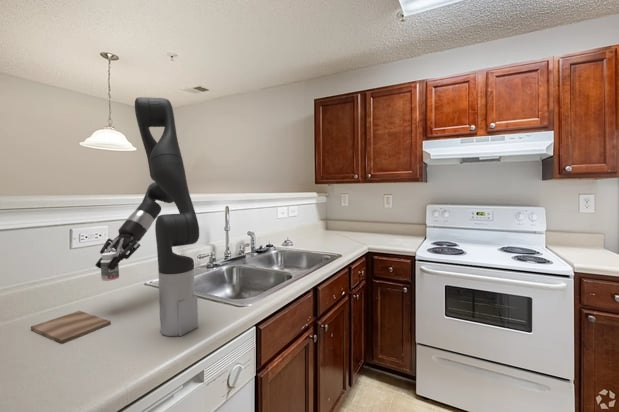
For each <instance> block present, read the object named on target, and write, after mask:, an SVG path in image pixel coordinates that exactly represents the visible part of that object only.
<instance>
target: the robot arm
mask: <svg viewBox="0 0 619 412" xmlns="http://www.w3.org/2000/svg"><path fill="white" fill-rule="evenodd" d="M134 113H135V118H136V122H137V126H138V131H139V133H140V137H141V140H142V144H143V147H144V151H145V154H146V158H147V164H148V171H149V175H150V178H151V180H152V181H153V182H152V183H150V184H149V185H148V187H147V190H146V192H145V195H144V197H143V199H142V201H141V203H140V205H138V206H137V208H136V209H135V210H134V211H133V212H132V213H131V214H130V215H129V216H128V218H127V219H125V221H124V223H123V224H122V225H121V226H120V227H119V229H118V231H117V232H118V235H117V237H115V238H114V239H111V238H108V239H107V240H106V241H105V243H104V245H103V246H102V248H101V249H100V251H99V254H100V255H102V254H103V253H109V252H116V255H115V256H116V257H113V259H112V260H111V261H110V262H109V264H108V265H107V268H108V269H110V270H114V268H115V267H116V266H117V265H119V263H120V262H121V261H123V260H124V259H125V260H128V259H129V258H130V257H131V256H132V255H133V254H134V253H135V252H137V250H138V249H139V248H140V247H141V244H140V243H139V242H140V241H141V240H142V239H143V237H144V236H145V235H146V233H147V232H148V230H149V229H150V228H151V226H152V224H153V223H154V221H155V224H154V226H155V227H154V229H155V239H156V241H155V242H156V253H157V255H156V256H157V267H158V269H157V270H158V299H159V321H160V323H159V324H160V333H161V335H163V336H168V337H174V336H175V337H176V336H177V337H182V336H184V335H186V334H187V333H189V332H191V331H193V330H195V329H196V328H198V327H199V319H198V315H199V314H198V313H199V312H198V308H199V307H198V295H196V293H195V262H194V259H193V257H190V256H188V255H187V256H186V255H180V254H177V253H175V252H174V251H173V248H174V247H182V246H189V245H194V244H196V243H197V242H198V241H199V239H200V225H199V221H198V217H197V214H196V210H195V208H194V204H193V201H192V197H191V194H190V190H189V187H188V183H187V181H188V180H187V176H186V170H185V165H184V160H183V156H182V153H181V149H180V145H179V144H180V143H179V141H178V135H177V127H176V122H175V116H174V115H175V113H174V109H173V105H172V103H171V101H170V100H169V99H168V98H164V97H150V96H149V97H145V96H143V97H141V96H140V97H136V98H135V101H134ZM150 128H163V132H162V134H161V136H160V139H159V140H158V141H156V139H155V138H154V136H153V135H152V133H151V130H150ZM156 201H159V202H162V203H166V204H172V203H174V204H175V206H176V208H177V211H178V213H165V214H160V213H161V212H162V207H161V206H162V205H160V204H159V203H158V202H156ZM101 260H103V259H102V256H101V257H100V258H99V259H98V261H97V262H96V263H95V267H97V268H98V269H101Z"/></svg>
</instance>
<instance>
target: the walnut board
mask: <svg viewBox="0 0 619 412" xmlns="http://www.w3.org/2000/svg"><path fill="white" fill-rule="evenodd" d="M111 323H112V322H111V320H108V319H106V318H103V317H99V316H96V315H94V314H90V313H87V312H84V311H82V310H78V311H74V312H71V313H68V314H65V315H62V316H59V317H56V318H53V319H50V320H47V321H44V322H41V323H38V324H35V325H32V326H30V330H31V331H33V332H34V333H37V334H39V335H41V336H43V337H45V338H48V339H50V340H53V341H54V342H56V343H59V344H65V343H68V342H70V341H72V340H76V339H78V338H80V337H82V336H85V335H88V334H90V333H92V332H95V331H97V330H101V329H103V328H106V327H108V326H110V325H111Z"/></svg>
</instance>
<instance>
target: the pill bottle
mask: <svg viewBox="0 0 619 412" xmlns="http://www.w3.org/2000/svg"><path fill="white" fill-rule="evenodd" d="M115 255H116V252H112V251H111V252H109V253H103V254H101V257H102V259H103V260H101V268H100V275H101V277H100V278H101V281H104V282H109V281H115V280H118V279H119V278H120V268H119V265H120V264H118V265H117V266H116V267H115V268H114V270H110V269H108V268H107V265H108V264H109V262H110V261H111V260H112V259H113V257H116V256H115Z"/></svg>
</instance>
